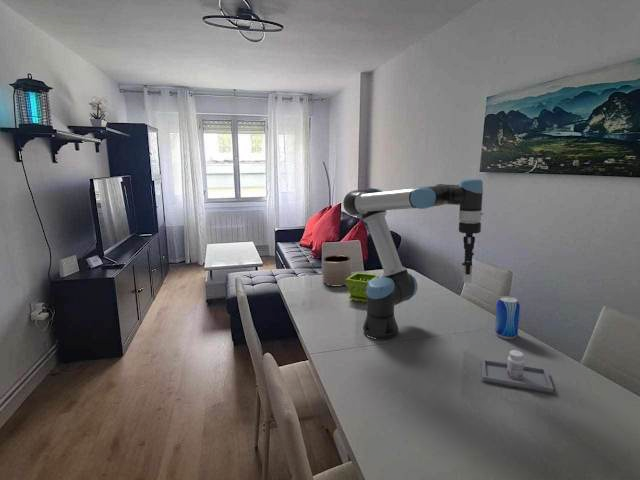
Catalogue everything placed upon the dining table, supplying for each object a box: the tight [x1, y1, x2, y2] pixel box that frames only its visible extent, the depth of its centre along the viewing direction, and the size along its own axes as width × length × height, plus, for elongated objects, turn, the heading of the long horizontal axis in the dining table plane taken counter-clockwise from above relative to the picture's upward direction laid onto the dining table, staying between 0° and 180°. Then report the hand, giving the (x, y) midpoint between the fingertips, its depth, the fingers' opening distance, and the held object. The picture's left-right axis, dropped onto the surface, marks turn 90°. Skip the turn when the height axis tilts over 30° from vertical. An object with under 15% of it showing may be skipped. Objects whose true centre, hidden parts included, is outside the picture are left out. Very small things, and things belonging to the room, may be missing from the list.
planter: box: [322, 254, 353, 286], centre depth 223 cm, size 18×18×16 cm
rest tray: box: [481, 358, 555, 395], centre depth 120 cm, size 20×12×2 cm, turn 68°
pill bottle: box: [507, 349, 525, 380], centre depth 119 cm, size 5×5×8 cm
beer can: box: [494, 295, 521, 340], centre depth 147 cm, size 8×8×16 cm
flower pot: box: [346, 272, 380, 303], centre depth 194 cm, size 14×14×13 cm
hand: (467, 277), depth 136 cm, fingers open, 13 cm apart
